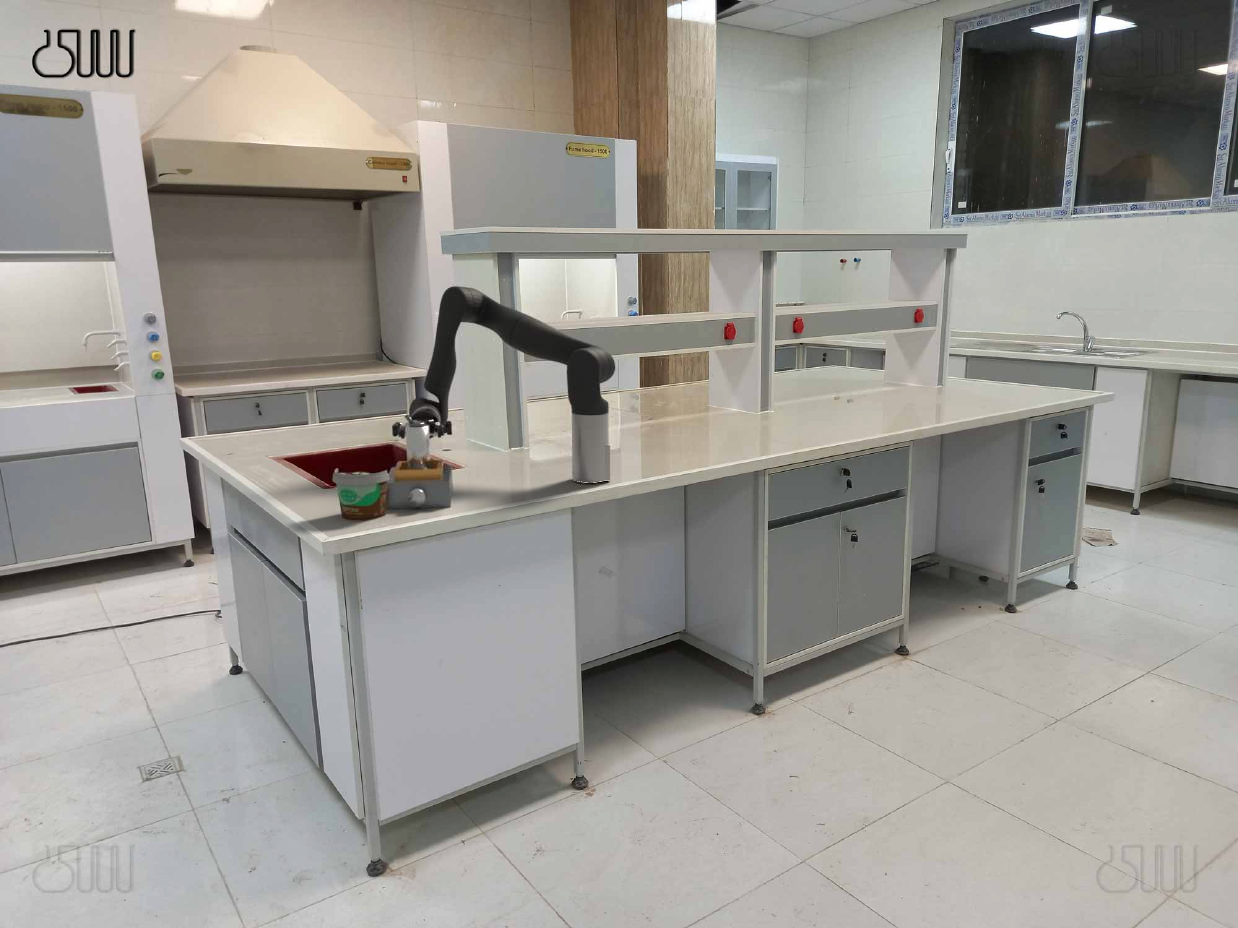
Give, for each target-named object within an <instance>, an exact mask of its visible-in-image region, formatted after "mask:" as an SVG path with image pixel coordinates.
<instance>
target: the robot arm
mask: <svg viewBox="0 0 1238 928" xmlns="http://www.w3.org/2000/svg"><path fill="white" fill-rule="evenodd" d="M439 303H440V304H439V309H438V317H437V325H436V329H435V330H436V331H435V339H434V346H433V351H432V356H431V359H430V363H429V365H428V369H427V372H426V376H425V380H424V383H423V387H424V390H425V391H427V392H428V393H430V394H431V395H433V396H434V397H436V398H437V400H438V401H435V400H432V399H429V398H425V397H421V396H418V397H416V398H414V399H413V400H412V401H411V403H410V405H409V409H408V415H409V416H410V417H411V419H412V420H413V421H414V422H415V421H422V422H425V425H429V436H430V440H431V439H433V438H434V437H437V438H439V439H440V438H442V437H444V436H445V434H446V435H447V436H451V435H453V425H452V421H451V420H448V418H449V396H450V390H451V386H452V384H453V382H454V377H455V374H456V370H457V354H456V338H457V337H456V336H457V333H458V330H459V328H460V326H461V323H469V324H474V325H479V326H481V327H484V328H486V329H489V330H491V331H492V332H494V333H495V334H497V336H498V337H499V338H500V339H501V340H502V341H503V342H504V343H505V344H506V345H508V346H509V347H511V348H512V349H515V350H517V351H519V352H521V353H523V354H525V355H528V356H530V357H533V358H536V359H541V360H546V361H549V362H550V361H552V362H555V363H559V364H563V365H565V366H566V385H567V386H566V387H567V397H568V399H567V400H568V401H569V404H570V408H571V470H572V471H571V477H572V479H573V480H575V481H580V482H581V481H582V482H588V483H593V482H599V481H604V480H610V481H611V444H610V441H609V439H610V436H609V435H610V434H609V433H610V432H609V429H610V428H609V426H610V425H609V422H610V421H609V419H610V418H609V417H610V416H609V412H610V411H609V409H610V407H609V401H607V400H606V399H604V398H603V397H602V393H601V384H603V383H605V382H607V381H609V380H610V379H612V377H613V376H614V374H615V372H616V363H615V360H614V357H613V356H612V354H611V353H610V352H609V351H608V350H607V349H605V348H603V347H601V346H599V345H598V346H597V345H594V344H592V343H589V342H587V341H584V340H583V341H582V340H580V339H577V338H575V337H573V336H571V335H569V334H567V333H566V332H562V331H561V330H560V329H557V328H555V327H553V326H551V325H549V324H546V323H545V322H543V321H541V320H540V319H537V318H535V317H532V316H530V315H528V314H526V313H524V312H522V311H520V310H517V309H514V308H510V307H509V306H505V305H503V304H502V303H500V302H497V301H496V300H494V299H493V298H491V297H489V296H488V295H487V294H485V293H483V292H482V291H480V290H479V289H476V288H473V287H467V286H466V287H465V286H459V285H456V286H455V285H454V286H450V287H449V288H447V289H445V290H444V292H443V294H442V296H441V299H440V302H439ZM407 425H409V422H408V421H407V422H405V423H404V424H402V423H401V422H399V421H396V422H394V423H393V424H392V426H391V432H392V437H394V438H395V437H397V436H398V437H399V438H401V440H402V439H406V426H407ZM573 480H572V481H573Z"/></svg>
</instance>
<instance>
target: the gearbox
mask: <svg viewBox="0 0 1238 928" xmlns="http://www.w3.org/2000/svg"><path fill="white" fill-rule="evenodd" d="M388 474H389V478H390V480H387V490H386V510H403V509H404V510H408V509H434V508H438V509H439V508H451V506H452V500H453V499H452V498H453V492H454V487H453V486H454V484H453V466H452V465H444V460H443V459H438V460H437V459H435V460H434V459H432V460H431V469H409V470H408V465H407V460H403V461H402V460H398V462H397V463H396V465H395V466H393V467H391V468H390V470H389V473H388Z"/></svg>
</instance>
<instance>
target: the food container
mask: <svg viewBox="0 0 1238 928" xmlns="http://www.w3.org/2000/svg"><path fill="white" fill-rule="evenodd" d="M387 480H390V478H389V473H388V470H387V469H386V470H383V471H380V472H375V473H372V472H368V471H355V472H345V471H344V472H340V471H339V468H338V467H337V468H335V469H334V472H333V474H332V482H333V483H334V484H336V489H337V490H336V491H337V496H338V501H339V508H340V513H341V517H342V518H343V519H344V520H347V521H356V520H357V522H358V521H360V522H361V521H370V520H374V519H375V520H376V519H379V518H382V517H385V516H386V511H387V509H386V490H387Z"/></svg>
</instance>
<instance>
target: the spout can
mask: <svg viewBox="0 0 1238 928" xmlns="http://www.w3.org/2000/svg"><path fill="white" fill-rule="evenodd" d="M403 417H404V419H406V421H407V422H409V425H407V426H406V436H405V441H406V443H405V444H406V445H405V446H406V459H407V460H406V461H407V465H408V470H409V469H431V458H432V457H431V439H430V436H429V425H425V422H422V421H415V422H414V421H413V420H412V419H411V417H410V416H409V413H407V414H406V415H405V416H403Z"/></svg>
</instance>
